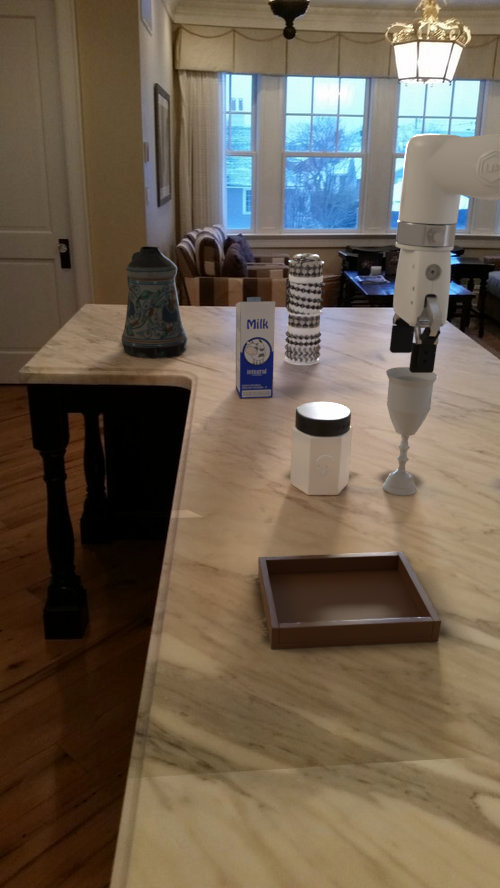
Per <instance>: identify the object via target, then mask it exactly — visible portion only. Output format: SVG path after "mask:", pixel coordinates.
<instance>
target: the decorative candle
mask: <svg viewBox="0 0 500 888" xmlns="http://www.w3.org/2000/svg"><path fill="white" fill-rule="evenodd" d="M288 262H289V265H290V266H289V274H288V279H287V280H286V281H285V285H286V287H287V289H286V290H285V291H286V292H285V294H286V297H285V300H286V302H287V304H286V309H285V310H286V314H288V317H287V319H288V321H287V324H286V325H287V326H286V331H285V336H286V338H285V339H284V340H285V342H286V344H285V346H284V349H285V352H284V356H285V357H284V361H285V362H286V363H287V364H290V365H293V366H314V365H317V364H319V363H320V362H321V361H320V356H321V353H320V351H321V348H322V347H321V345H320V343H321V342H322V340H321V336H322V333H321V323H320V322H321V315H322V314H323V311H322V309H323V308H324V306H323V305H322V303H324V299H323V298H322V295H324V294H325V293H326V292H325V290H324V289H323V288H324V287H326V284H325V283H324V275H323V269H324V268H323V267H324V266H323V264H324V263H325V261H323V260H322V259H321V257H320V256H319V255H318V254H315V253H296V254H294V255H293V256H292V258H291V260H288Z"/></svg>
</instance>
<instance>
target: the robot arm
mask: <svg viewBox="0 0 500 888" xmlns="http://www.w3.org/2000/svg"><path fill="white" fill-rule="evenodd" d="M404 152H405V153H404V160H403V161H404V163H403V171H402V180H401V190H400V201H399V209H398V218H397V226H396V235H395V236H396V238H395V245H394V246H395V247H396V248H399V249H400V251H399V254H398V255H399V256H398V261H397V267H396V274H395V282H394V289H393V299H392V300H393V302H392V308H393V312H394V314H393V316H392V326H391V334H390V343H389V351H390V352H391V353H393V354H410V359H409V370H410V371H411V372H412V373H432V372H434V371H435V363H436V362H435V361H436V355H437V349H438V344H439V337H440V335H441V328H442V327H444V326H445V325H446V324H447V319H448V312H449V311H448V310H449V302H450V301H449V300H450V299H449V298H450V288H451V275H452V274H451V273H452V268H451V267H452V259H451V258H452V255H451V251H453V250H454V247H455V239H456V233H457V232H456V231H457V225H458V224H457V223H458V219H459V211H460V203H461V196H465V197H470V198H474V199H478V200H484V201H497V200H500V133H490V134H489V133H488V134H482V135H474V136H473V135H471V136H460V135H457V134H445V133H443V134H442V133H419V134H415V135H413V136H411V137H410V138H409V139H408V140H407V143H406V146H405V151H404ZM422 329H423V331H422ZM414 341H415V342H414Z"/></svg>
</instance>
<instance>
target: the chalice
mask: <svg viewBox="0 0 500 888" xmlns="http://www.w3.org/2000/svg"><path fill="white" fill-rule="evenodd" d="M409 367H410V366H409ZM409 367H408V366H400V367H399V366H397V367H391V368H389V369H387V370H386V371H385V373H386V376H387V378H388V386H387V397H386V406H387V410H388V415H389V419H390V422H391V423H392V426H393V429H394V431H395V433H397V434H398V435H400V437H401V440H400V443H399V445H398V446H397V447H398V449H399V452H400V453H399V454H398V456H396V460H397V462H398V467H397V468H396V469H395V470H393V471H391V472H390V473H389V474H388V475H387V476H388V477H387V478H385V482H384V483H383V485H382V488H383V490H384V491H385V492H387V493H389V494H391V495H396V496H404V497H405V496H411V495H413V494H415V493H416V492H417V490H418V489H417V486H416V483H415V481H414V477H413V475H412V474H411V473H410V472H409V471H408V470H407V469H406V464H407V462H408V461H409V460H410V459H409V457H408V453H407V452H408V451H409V449H410V448H411V447H410V446H409V439H410V436H414V435H416V433H417V432H418V430H419V429H420V428H421V426H422V425H423V423H424V422H425V421H426V418H427V416H428V414H429V412H430V410H431V407H432V406H431V405H432V397H433V388H434V383H435V382H436V381H437V379H438V378H439V376H438V374H437V373H435V372H434V371H433V372H432V373H412V372H411V371H410V370H409Z"/></svg>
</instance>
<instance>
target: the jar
mask: <svg viewBox="0 0 500 888" xmlns="http://www.w3.org/2000/svg"><path fill="white" fill-rule="evenodd" d="M351 420H352V411H351V409H350V408H349V407H347V406H344V405H343V404H339V403H336V402H329V401H311V402H306V403H303V404H300V405H298V406H297V407H296V409H295V423H294V426H293V427H292V428H291V454H290V476H289V478H290V479H289V480H290V482H289V483H290V485H292V486H293V487H295V488H296V489H298V490H299V491H301V492H302V493H303V494H305V495H307V496H338V495H339V494H340V493H341V492H342V491H343V490H344V489H345V487H347V485H348V484H349V482H350V481H349V479H350V467H351V454H352V442H353V441H352V440H353V428H354V427H353V426H351Z"/></svg>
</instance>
